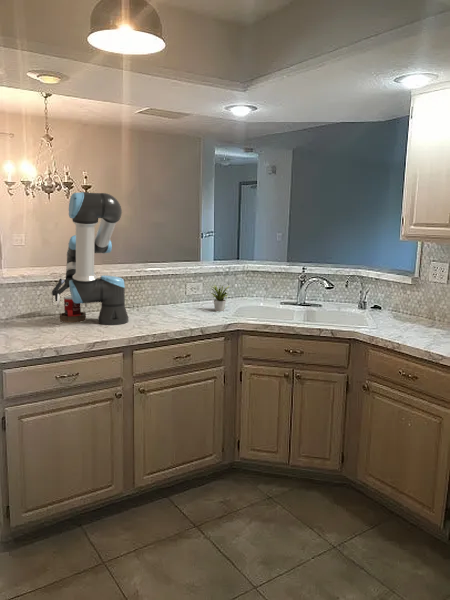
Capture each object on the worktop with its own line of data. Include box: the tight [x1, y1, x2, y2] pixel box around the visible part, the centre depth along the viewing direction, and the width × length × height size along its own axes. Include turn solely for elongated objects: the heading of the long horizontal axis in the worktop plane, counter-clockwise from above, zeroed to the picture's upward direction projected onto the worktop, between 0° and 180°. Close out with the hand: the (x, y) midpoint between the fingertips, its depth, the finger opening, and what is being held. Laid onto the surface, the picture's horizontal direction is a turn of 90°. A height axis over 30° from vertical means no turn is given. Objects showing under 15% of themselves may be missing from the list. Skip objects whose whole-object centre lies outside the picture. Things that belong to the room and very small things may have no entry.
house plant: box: [209, 284, 230, 312], centre depth 287 cm, size 14×14×16 cm
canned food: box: [63, 295, 82, 317], centre depth 258 cm, size 8×8×11 cm
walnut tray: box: [59, 311, 87, 324], centre depth 259 cm, size 13×13×3 cm
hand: (71, 305), depth 256 cm, fingers open, 13 cm apart
